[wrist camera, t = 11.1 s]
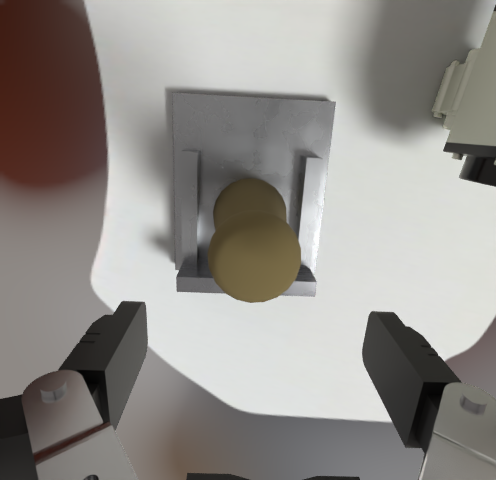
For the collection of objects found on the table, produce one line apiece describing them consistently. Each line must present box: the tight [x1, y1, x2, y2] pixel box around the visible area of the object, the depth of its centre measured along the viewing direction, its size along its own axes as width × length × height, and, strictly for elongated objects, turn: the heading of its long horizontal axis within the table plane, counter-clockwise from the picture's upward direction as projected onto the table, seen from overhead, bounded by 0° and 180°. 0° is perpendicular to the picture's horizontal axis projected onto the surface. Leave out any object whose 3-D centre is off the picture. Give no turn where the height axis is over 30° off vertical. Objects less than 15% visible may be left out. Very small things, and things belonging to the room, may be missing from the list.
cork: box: [207, 178, 301, 303], centre depth 23 cm, size 6×6×11 cm
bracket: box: [172, 93, 336, 297], centre depth 26 cm, size 14×12×5 cm
